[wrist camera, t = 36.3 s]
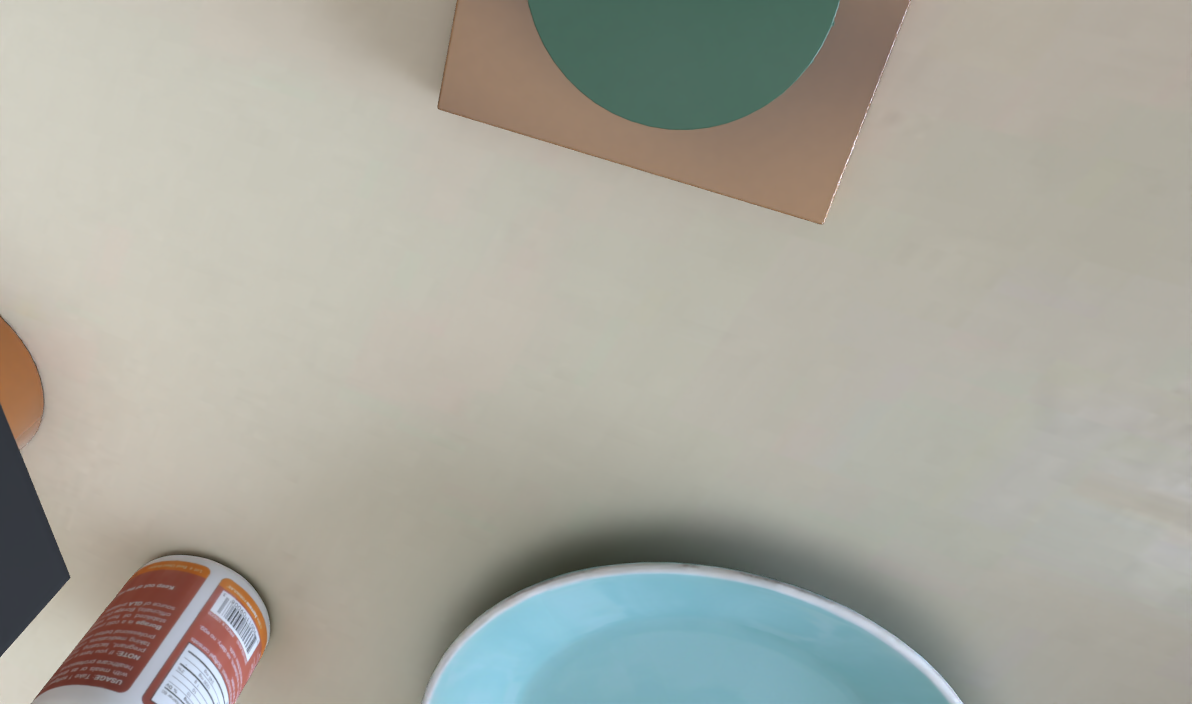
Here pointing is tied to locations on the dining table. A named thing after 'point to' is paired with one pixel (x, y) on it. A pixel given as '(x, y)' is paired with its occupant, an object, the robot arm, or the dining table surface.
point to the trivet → (695, 157)
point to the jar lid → (683, 54)
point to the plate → (678, 645)
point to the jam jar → (19, 387)
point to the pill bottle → (168, 640)
